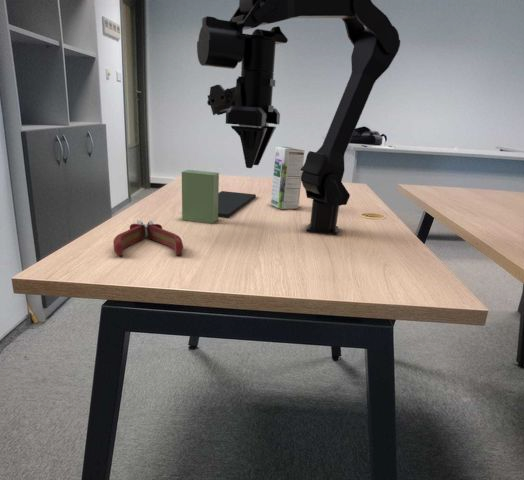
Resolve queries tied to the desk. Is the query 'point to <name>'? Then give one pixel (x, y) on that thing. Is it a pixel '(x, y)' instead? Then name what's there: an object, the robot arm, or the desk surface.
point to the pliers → (153, 232)
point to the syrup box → (287, 177)
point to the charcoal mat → (232, 202)
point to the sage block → (200, 196)
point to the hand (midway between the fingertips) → (252, 166)
